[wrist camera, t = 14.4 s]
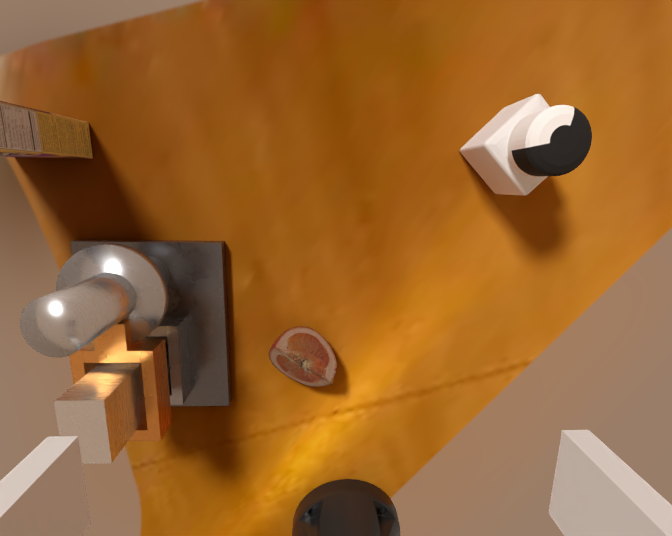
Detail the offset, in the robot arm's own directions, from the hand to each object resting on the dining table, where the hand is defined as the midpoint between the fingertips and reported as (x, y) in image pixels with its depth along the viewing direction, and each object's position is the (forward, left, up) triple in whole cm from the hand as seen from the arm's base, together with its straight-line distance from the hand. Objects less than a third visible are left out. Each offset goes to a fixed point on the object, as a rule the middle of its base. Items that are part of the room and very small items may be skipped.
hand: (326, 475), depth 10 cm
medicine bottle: (+12, -21, -37) cm, 44 cm away
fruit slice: (-13, +2, -37) cm, 39 cm away
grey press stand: (-9, +20, -37) cm, 43 cm away
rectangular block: (-13, +20, -35) cm, 42 cm away
